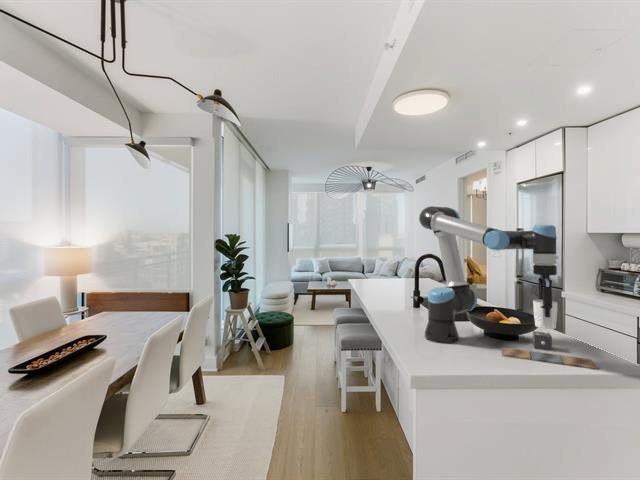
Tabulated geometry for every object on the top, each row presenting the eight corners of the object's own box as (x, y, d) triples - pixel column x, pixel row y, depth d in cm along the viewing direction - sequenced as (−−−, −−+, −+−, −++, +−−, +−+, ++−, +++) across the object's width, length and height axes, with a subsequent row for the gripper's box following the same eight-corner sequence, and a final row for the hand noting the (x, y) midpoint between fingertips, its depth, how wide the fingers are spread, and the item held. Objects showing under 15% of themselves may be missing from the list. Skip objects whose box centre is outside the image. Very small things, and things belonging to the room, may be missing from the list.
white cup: (550, 330, 119) (550, 304, 119) (528, 325, 126) (528, 300, 126) (562, 328, 122) (561, 302, 123) (540, 323, 129) (539, 299, 130)
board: (502, 355, 127) (502, 354, 127) (501, 348, 136) (501, 347, 136) (598, 369, 113) (598, 368, 113) (590, 360, 121) (590, 359, 121)
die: (534, 348, 135) (534, 334, 135) (532, 344, 140) (532, 331, 140) (551, 351, 132) (551, 336, 132) (549, 346, 137) (549, 332, 137)
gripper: (561, 266, 113) (562, 330, 113) (552, 263, 131) (552, 318, 131) (536, 266, 117) (537, 328, 117) (530, 262, 135) (531, 316, 135)
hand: (545, 322), depth 124 cm, fingers closed on white cup, 8 cm apart
